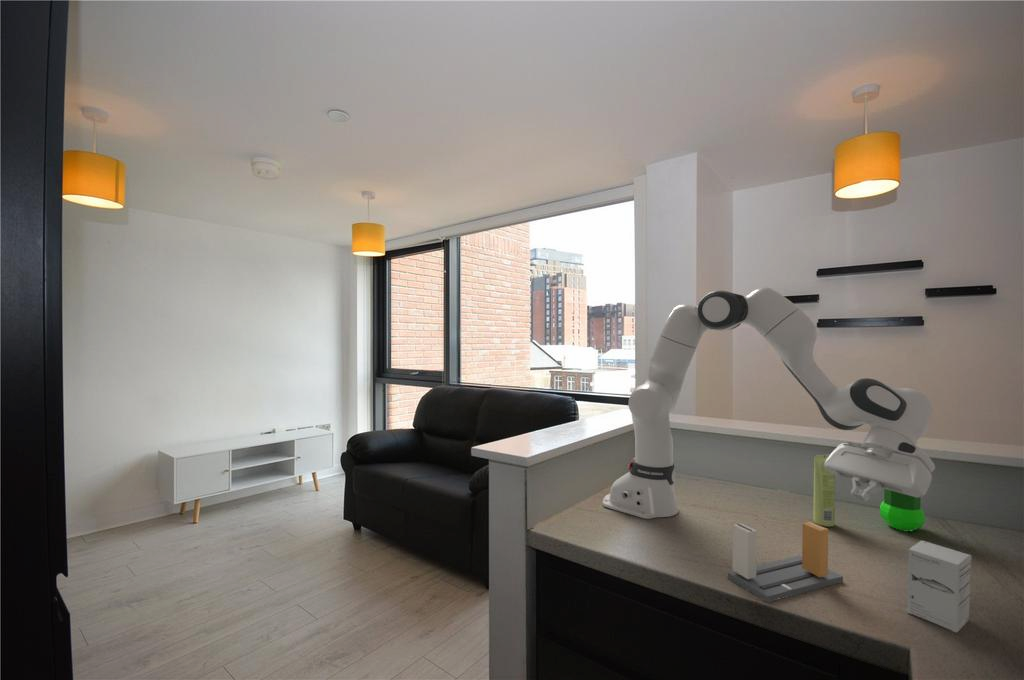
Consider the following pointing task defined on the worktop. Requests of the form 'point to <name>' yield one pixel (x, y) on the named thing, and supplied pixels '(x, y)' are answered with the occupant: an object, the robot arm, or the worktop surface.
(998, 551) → the worktop surface
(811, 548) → the fader orange
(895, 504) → the plastic bottle
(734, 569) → the fader white
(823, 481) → the tube
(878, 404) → the robot arm
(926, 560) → the supplement box
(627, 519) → the worktop surface
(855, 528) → the worktop surface
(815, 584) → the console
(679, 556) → the worktop surface
